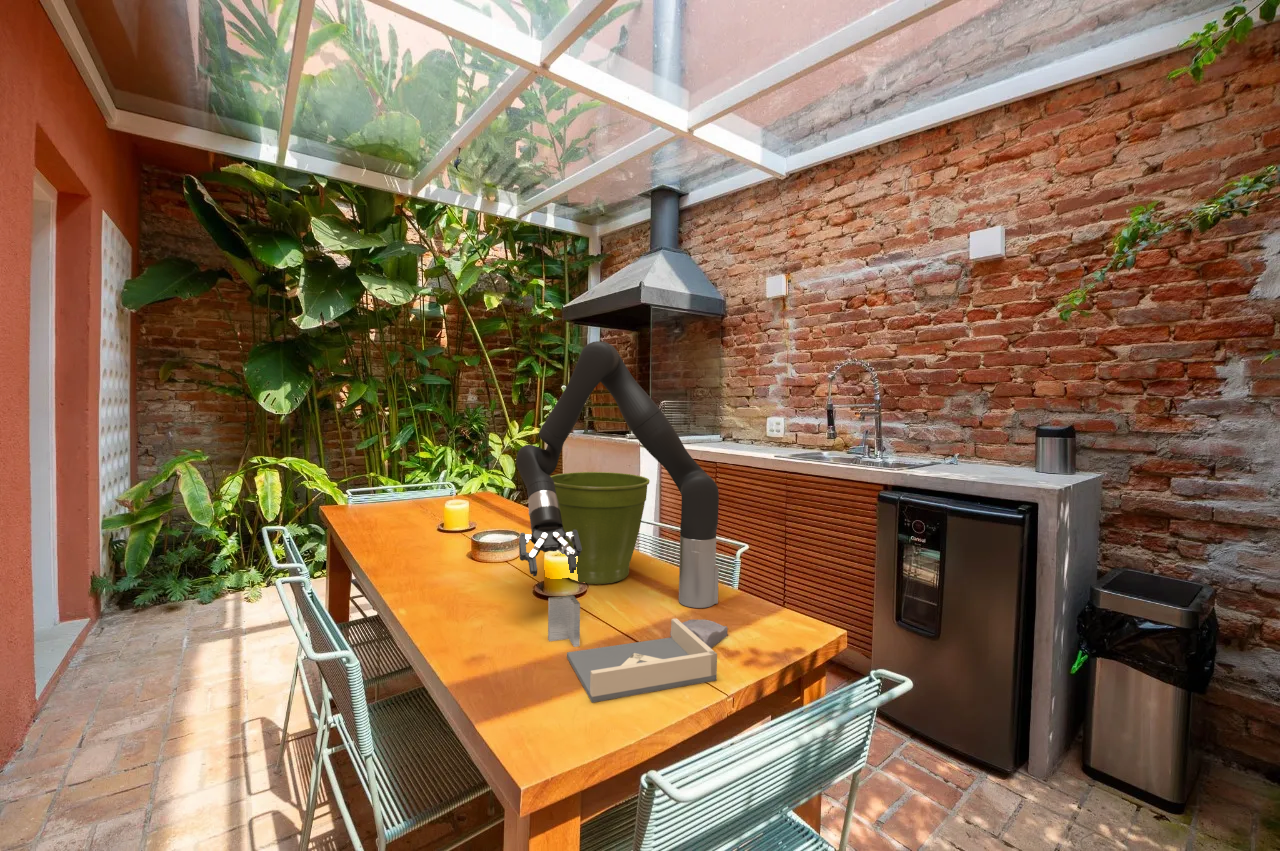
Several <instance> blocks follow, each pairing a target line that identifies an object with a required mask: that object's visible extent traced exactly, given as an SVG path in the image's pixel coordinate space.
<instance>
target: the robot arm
mask: <svg viewBox="0 0 1280 851" xmlns="http://www.w3.org/2000/svg"><path fill="white" fill-rule="evenodd" d="M580 352H581V353H580V354H579V357H578V360H577V362H576V364H575V367H574V369H573V372H572V374H571V376H570V379H569V381H568V383H567V385H566V387H565V389H564V390H563V392H562V394H561V395H560V397H559V399H558V401H557V402H556V403H555V405H554V406H553V408H552V410H551V411H550V413H549V415H548V416H547V418H546V420H545V422H544V423H543V424H542V426H541V427H540V429H539V432H538V436H539V438H540V440H541V441H542V442H544V443H545V444H546V445H547V446H546V448H541V447H538V446H536V445H532V444H525V445H523V446H522V447H520V448H519V450H518V451H517V455H516V458H515V459H516V460H515V461H516V468H517V470H518V473H519V475H520V477H521V480H522V481H523V484H524V486H525V487H526V493H527V494H526V495H527V499H528V516H529V523H530V529H531V530H530V531H531V534H526V533H525V532H521V533H520V534H519V538H518V547H519V549H518V551H519V560H520V561H522V562H523V561H527V562H528V569H529V570H528V571H529V574H530V575H532V577H537V575H538V565H537V558H536V557H538V556H539V554H540V552H543V553H548V552H557V551H558V552H559V553H560V552H561V553H562V554H565V555H566V556H567V557H568V564H569V570H570V573H574V570H576V567H577V564H576V558H575V557H576V556H580V553H581V551H582V547H581V543H580V539H579V535H578V532H577V530H575V529H574V530H573V531H572V532H565V531H564V529H563V523H562V518H561V512H560V507H559V502H558V499H557V495H556V490H555V484H554V481H553V479H552V477H550V476H551V475H552V474H554V471H555V470H556V468H557V466H558V464H559V459H560V455H561V453H562V450H563V447H564V445H565V444H564V443H565V442H566V440H567V439H568V437H569V435H570V434H571V432H572V430H573V429H574V427H575V426H576V424H577V422H578V420H579V418H580V415H581V413H582V411H583V408H584V407H585V405H586V402H587V401H588V399H589V397H590V396H591V394H592V393H593V391H594V390H595V389H596V388H597V386H598V385H599V384H600V383H601V384H602V385H603V386H604V388H605V389H606V390H607V391H608V392H609V393H610V395H611V396H612V398H613V399H614V401H615V403H616V404H617V407H618V409H619V411H620V413H621V415H622V417H623V419H624V421H625V424H626V425H627V427H628V429H630V431H631V432H632V433H633V435H634V437H635V438H636V439H637V441H638V442H639V443H640V444H641V445H642V447H643V448H644V449H645V450H646V451H647V452H648V453H649V454H650V455H651V456H652V457H653V458H654V459H655V460H656V461H657V462H658V463H659V464H660V465H661V466H662V467H663V468H664V469H665V471H666V472H667V473H668V474H669V476H670V478H671V479H672V481H673V482H674V484H675V486H676V487H677V490H678V491H679V493H680V496H681V508H680V509H681V513H680V514H681V515H680V518H681V519H680V526H679V527H680V528H679V529H680V530H679V532H680V533H679V536H680V537H679V571H678V572H679V575H678V576H679V577H678V580H679V581H678V602H679V603H680V604H681V605H683V606H685V607H687V608H695V609H702V608H703V609H705V608H709V607H712V606H714V605H715V604H716V605H717V604H718V603H719V572H720V571H719V570H720V568H719V566H718V565H717V564H716V562H717V530H718V526H719V504H720V503H719V500H720V499H719V498H720V496H719V492H720V491H719V488H718V485H717V483H716V482H715V480H714V479H713V478H712V476H711V475H709V474H708V473H707V472H706V471H705V470H703V468H702V467H701V465H699V464H698V463H697V462H696V460H694V458H693V457H692V456H691V454H690V453H689V452H688V450H687V449H686V447H685V446H684V444H683V441H682V440H681V438H680V437H679V434H678V433H677V431H676V430H675V428H674V427H673V425H672V424H671V422H670V421H669V419H668V418H667V416H666V415H665V414H664V413H663V411H662V410H661V409H660V408H659V406H658V405H657V403H656V402H655V401H654V400H653V399H652V398H651V396H649V394H648V393H647V392H646V391H645V390H644V388H642V386H641V385H640V384H639V383H638V382H637V381H636V379H635V378H634V376H633V375H632V373H631V372H630V370H629V369H628V367H627V366H626V364H625V362H624V361H623V358H622V357H621V354H619V352H618V350H617V348H615V346H614V345H612V344H611V343H608V342H605V341H592V342H590V343H587V344H586V345H585V346H584V347H582V350H581V351H580ZM566 538H568V539H569V540H570V541H572V544H573V548H574V550H573V549H572V548H571V547H570V546H569V544H568V543H567V542H566V541H565V539H566ZM529 541H531V543H532V544H534V546H533V548H532V550H531V551H530V552H527V545H528V544H529ZM561 545H562V546H561Z"/></svg>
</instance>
